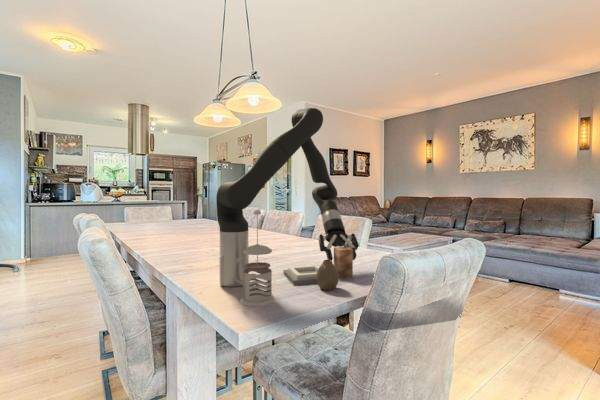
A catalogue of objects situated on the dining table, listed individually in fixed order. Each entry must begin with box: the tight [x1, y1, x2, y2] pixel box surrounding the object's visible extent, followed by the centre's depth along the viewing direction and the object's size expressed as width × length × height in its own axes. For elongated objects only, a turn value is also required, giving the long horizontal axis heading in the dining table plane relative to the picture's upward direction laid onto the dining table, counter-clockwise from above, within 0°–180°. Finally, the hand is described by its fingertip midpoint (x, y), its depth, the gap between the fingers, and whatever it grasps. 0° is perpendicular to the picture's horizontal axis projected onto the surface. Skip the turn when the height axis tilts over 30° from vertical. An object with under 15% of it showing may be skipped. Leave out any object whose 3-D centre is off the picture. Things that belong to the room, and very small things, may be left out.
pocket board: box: [283, 265, 320, 286], centre depth 108 cm, size 14×14×3 cm
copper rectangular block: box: [333, 246, 354, 280], centre depth 110 cm, size 5×5×10 cm
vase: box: [316, 259, 340, 291], centre depth 96 cm, size 7×7×9 cm
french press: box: [233, 209, 276, 307], centre depth 85 cm, size 10×12×25 cm
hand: (342, 259), depth 110 cm, fingers open, 8 cm apart
